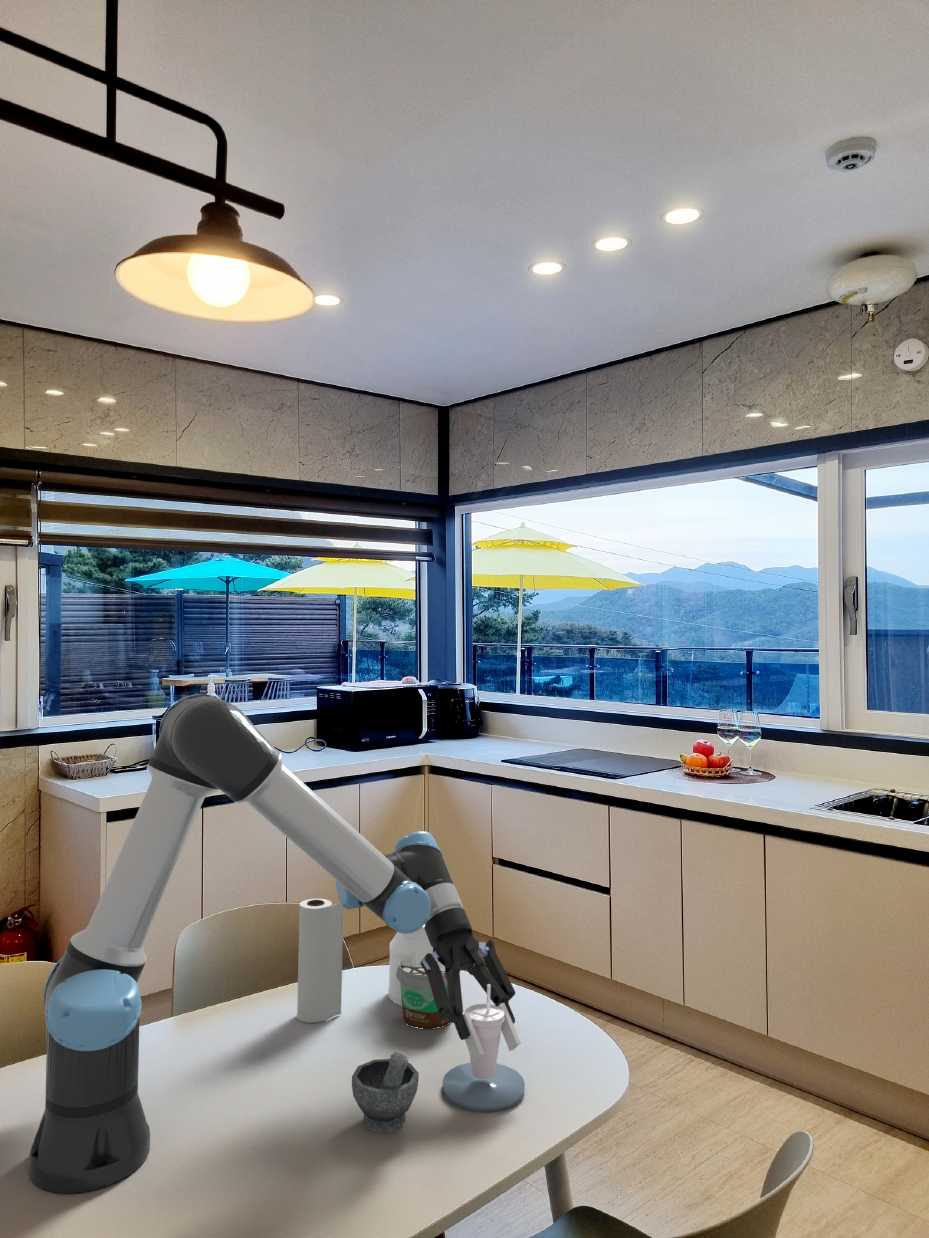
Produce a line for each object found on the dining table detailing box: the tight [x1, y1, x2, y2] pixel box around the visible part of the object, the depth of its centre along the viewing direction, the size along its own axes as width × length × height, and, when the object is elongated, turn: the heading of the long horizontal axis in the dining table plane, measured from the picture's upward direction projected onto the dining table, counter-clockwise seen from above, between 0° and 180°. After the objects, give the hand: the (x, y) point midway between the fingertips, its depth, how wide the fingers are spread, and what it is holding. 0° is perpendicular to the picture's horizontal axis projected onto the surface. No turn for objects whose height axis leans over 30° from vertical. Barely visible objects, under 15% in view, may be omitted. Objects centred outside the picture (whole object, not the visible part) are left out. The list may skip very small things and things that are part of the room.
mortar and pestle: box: [351, 1051, 420, 1134], centre depth 129 cm, size 11×9×12 cm
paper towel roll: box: [296, 898, 344, 1024], centre depth 163 cm, size 7×6×21 cm
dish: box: [442, 1062, 526, 1113], centre depth 139 cm, size 13×13×1 cm
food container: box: [396, 961, 451, 1030], centre depth 161 cm, size 12×6×10 cm, turn 73°
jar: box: [387, 924, 445, 1006], centre depth 174 cm, size 12×10×15 cm
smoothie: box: [464, 984, 505, 1079], centre depth 139 cm, size 6×6×14 cm
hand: (497, 1052), depth 136 cm, fingers closed on smoothie, 6 cm apart
